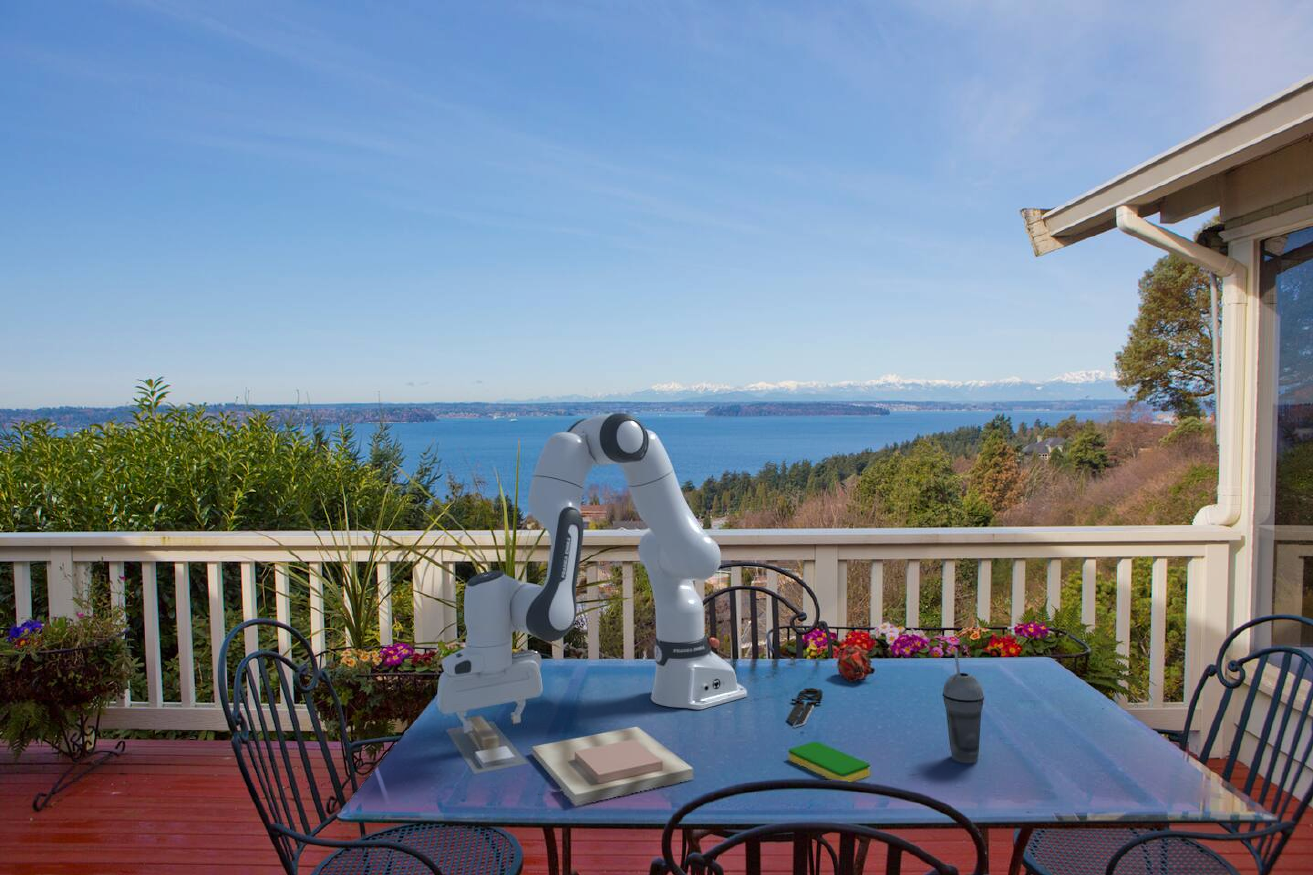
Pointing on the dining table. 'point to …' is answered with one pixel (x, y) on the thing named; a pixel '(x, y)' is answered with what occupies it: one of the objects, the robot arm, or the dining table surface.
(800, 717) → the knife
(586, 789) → the board
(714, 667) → the robot arm
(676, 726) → the dining table surface
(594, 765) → the tile
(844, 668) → the dragon fruit
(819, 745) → the dish sponge
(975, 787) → the dining table surface
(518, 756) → the mat
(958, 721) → the beverage cup
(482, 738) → the turner
